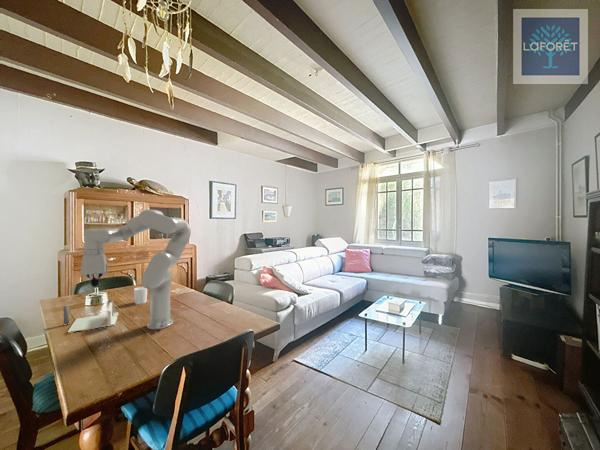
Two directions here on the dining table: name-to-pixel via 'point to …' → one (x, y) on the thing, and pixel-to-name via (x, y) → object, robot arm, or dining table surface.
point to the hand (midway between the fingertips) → (95, 286)
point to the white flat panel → (110, 314)
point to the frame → (89, 320)
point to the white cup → (140, 295)
